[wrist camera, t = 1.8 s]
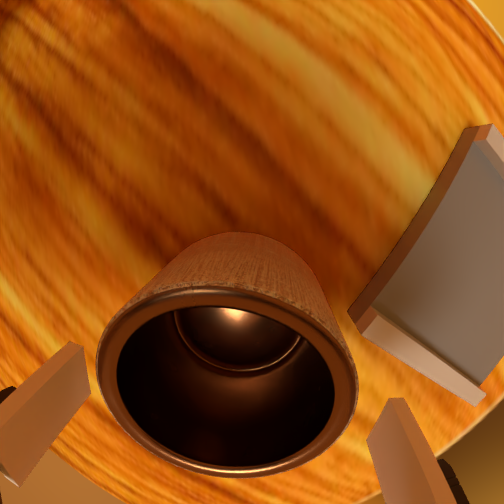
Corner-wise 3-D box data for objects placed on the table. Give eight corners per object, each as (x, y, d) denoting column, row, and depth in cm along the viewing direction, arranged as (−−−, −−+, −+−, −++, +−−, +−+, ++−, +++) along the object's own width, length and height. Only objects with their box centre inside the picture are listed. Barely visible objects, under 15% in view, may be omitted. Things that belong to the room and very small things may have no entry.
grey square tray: (347, 311, 19) (361, 335, 16) (464, 128, 16) (492, 123, 12) (459, 386, 20) (475, 407, 17) (546, 251, 17) (569, 259, 14)
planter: (216, 194, 18) (164, 207, 8) (353, 291, 19) (415, 376, 9) (137, 322, 20) (69, 404, 11) (259, 397, 21) (254, 498, 12)
